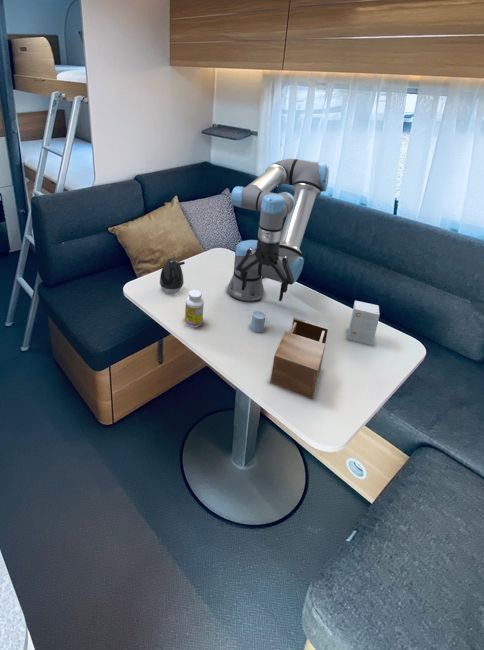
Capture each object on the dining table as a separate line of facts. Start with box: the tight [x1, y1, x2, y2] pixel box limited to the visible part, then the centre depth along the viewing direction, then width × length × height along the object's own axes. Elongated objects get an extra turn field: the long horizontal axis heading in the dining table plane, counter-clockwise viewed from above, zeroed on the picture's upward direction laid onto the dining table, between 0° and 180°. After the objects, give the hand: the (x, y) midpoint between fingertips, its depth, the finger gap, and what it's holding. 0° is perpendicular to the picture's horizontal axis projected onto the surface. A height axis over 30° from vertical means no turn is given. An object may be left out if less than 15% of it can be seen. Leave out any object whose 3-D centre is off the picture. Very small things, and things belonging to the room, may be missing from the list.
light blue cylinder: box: [250, 310, 267, 333], centre depth 151 cm, size 5×5×6 cm
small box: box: [348, 300, 380, 346], centre depth 146 cm, size 8×6×13 cm
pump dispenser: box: [159, 257, 186, 294], centre depth 173 cm, size 10×10×15 cm
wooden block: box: [269, 330, 326, 400], centre depth 127 cm, size 14×13×11 cm
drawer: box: [289, 317, 329, 345], centre depth 138 cm, size 17×11×9 cm
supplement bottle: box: [184, 289, 205, 328], centre depth 152 cm, size 7×7×13 cm
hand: (261, 293), depth 147 cm, fingers open, 13 cm apart
